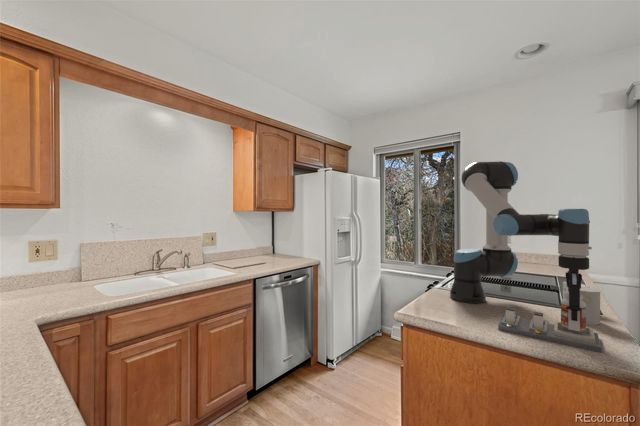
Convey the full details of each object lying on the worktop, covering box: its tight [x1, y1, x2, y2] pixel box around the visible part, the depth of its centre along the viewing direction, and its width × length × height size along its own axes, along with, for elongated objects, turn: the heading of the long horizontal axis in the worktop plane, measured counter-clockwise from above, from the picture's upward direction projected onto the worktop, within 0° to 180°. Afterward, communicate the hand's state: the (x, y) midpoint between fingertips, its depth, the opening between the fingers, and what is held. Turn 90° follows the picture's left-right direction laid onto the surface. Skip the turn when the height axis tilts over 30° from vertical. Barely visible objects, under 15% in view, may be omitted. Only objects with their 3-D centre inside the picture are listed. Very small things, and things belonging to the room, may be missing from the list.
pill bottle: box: [560, 292, 587, 331], centre depth 93 cm, size 6×6×11 cm
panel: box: [497, 313, 603, 353], centre depth 97 cm, size 26×13×3 cm, turn 50°
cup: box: [580, 286, 601, 326], centre depth 108 cm, size 8×8×12 cm
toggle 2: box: [533, 311, 544, 330], centre depth 98 cm, size 2×2×5 cm
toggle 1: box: [505, 306, 516, 324], centre depth 103 cm, size 2×2×5 cm
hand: (573, 326), depth 93 cm, fingers closed on pill bottle, 6 cm apart
